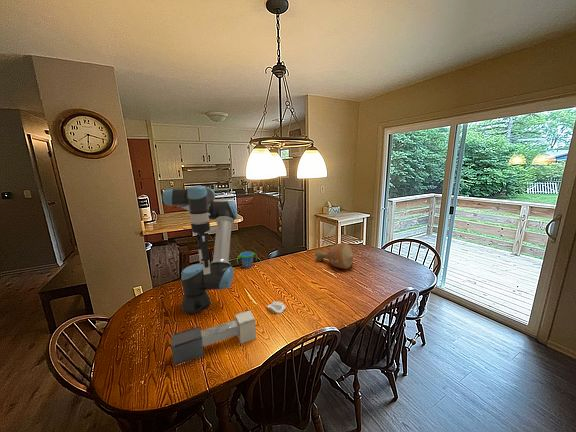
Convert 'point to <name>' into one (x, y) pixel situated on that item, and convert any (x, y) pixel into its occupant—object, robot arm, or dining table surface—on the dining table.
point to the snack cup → (246, 258)
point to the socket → (246, 326)
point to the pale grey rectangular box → (220, 332)
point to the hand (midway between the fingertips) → (204, 267)
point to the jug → (337, 255)
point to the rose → (276, 307)
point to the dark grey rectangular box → (187, 345)
